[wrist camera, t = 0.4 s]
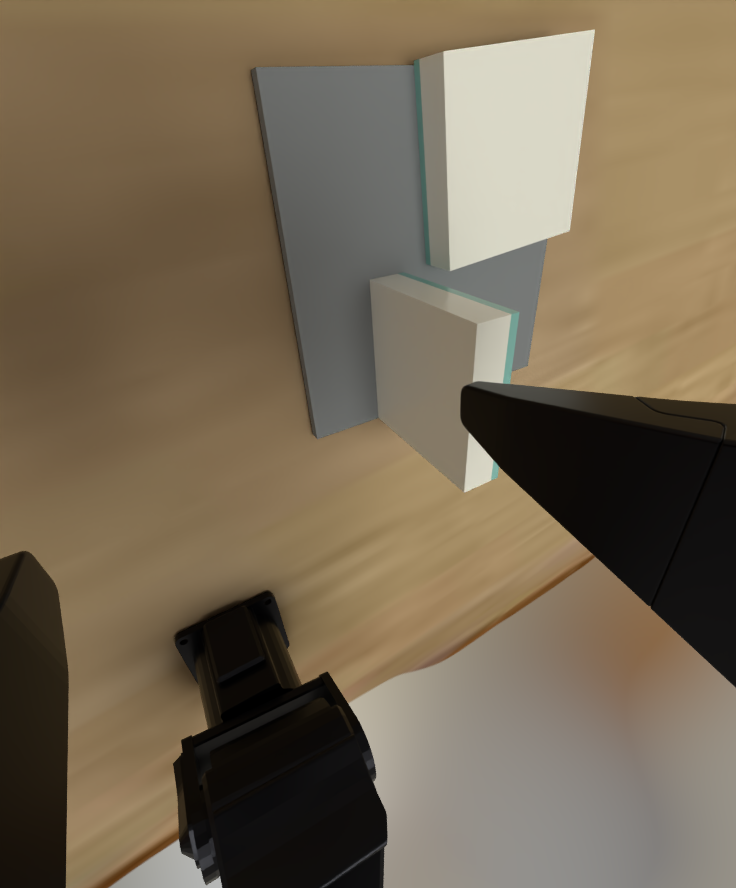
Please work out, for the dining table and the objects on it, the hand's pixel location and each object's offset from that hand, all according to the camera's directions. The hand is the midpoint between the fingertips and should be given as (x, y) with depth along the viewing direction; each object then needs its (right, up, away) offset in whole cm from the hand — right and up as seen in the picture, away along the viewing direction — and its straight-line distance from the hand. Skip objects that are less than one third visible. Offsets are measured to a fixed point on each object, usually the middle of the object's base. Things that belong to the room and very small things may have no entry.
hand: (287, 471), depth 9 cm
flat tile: (+8, +15, +12) cm, 21 cm away
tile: (+3, +6, +15) cm, 16 cm away
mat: (+5, +10, +14) cm, 18 cm away
